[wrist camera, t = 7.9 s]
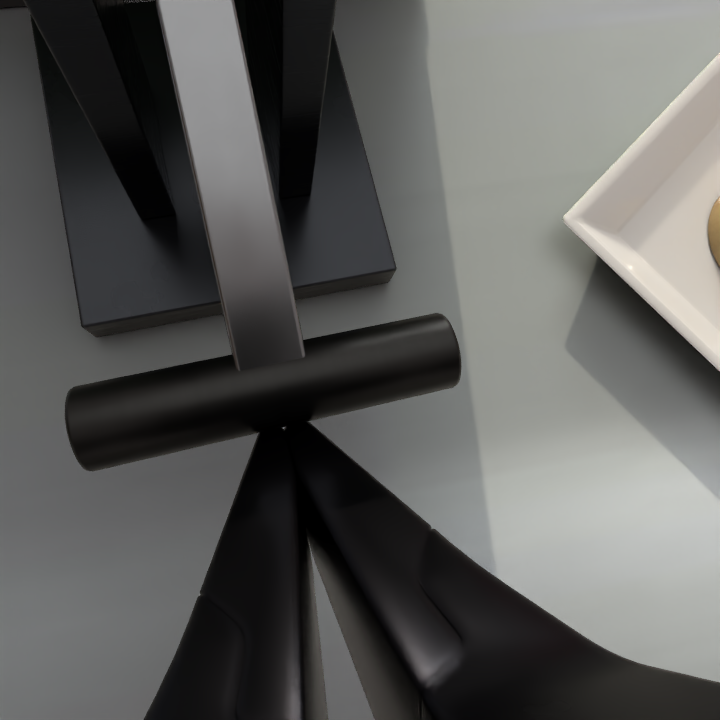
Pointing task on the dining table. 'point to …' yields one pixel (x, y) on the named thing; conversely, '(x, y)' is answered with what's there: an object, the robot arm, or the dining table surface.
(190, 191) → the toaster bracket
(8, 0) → the toaster body
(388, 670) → the robot arm
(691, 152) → the dessert
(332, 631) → the dining table surface
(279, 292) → the lever
